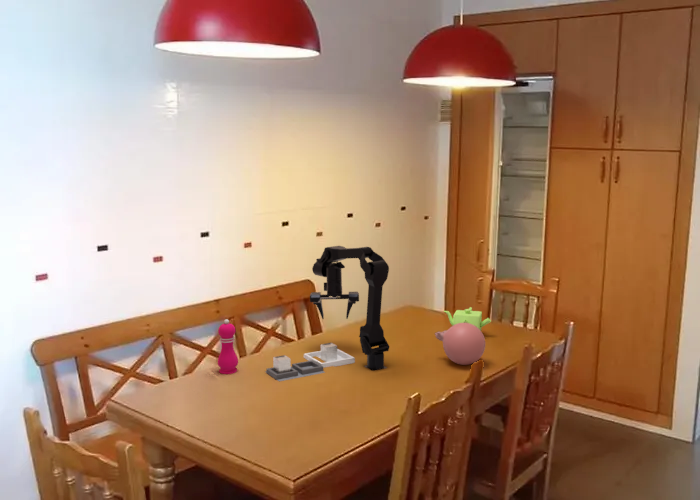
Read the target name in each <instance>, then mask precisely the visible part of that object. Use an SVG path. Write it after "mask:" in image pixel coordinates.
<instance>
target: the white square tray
mask: <svg viewBox="0 0 700 500" xmlns="http://www.w3.org/2000/svg"><path fill="white" fill-rule="evenodd" d="M314 357H317V358H319V359H321V350H319V351H312V352H306V353H303V359H305V360H306V361H311V360H313V361H315V362H316V363H318V364H320V365H322V366H323V369H324V368H330V367H340V366H345V365H351V364H355V363H356V358H355V357H354V356H352V355H350V354H349V353H346V352H345V351H343V350H341V349H339V348H337V360H336V361H330V362H325V361H324V362H321V361H319V360H318V359H316V358H314Z"/></svg>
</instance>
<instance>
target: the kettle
mask: <svg viewBox="0 0 700 500" xmlns="http://www.w3.org/2000/svg"><path fill="white" fill-rule="evenodd" d="M443 312H444V313H445V314H446V315H447V317H448V322H449V323H450V324H451V326H453V325H455V324H458V323H470V324H472V325H474V326H476V327H477V328H478V329H479V330H480V331H481V332H482V328H483V327H485V326H486V325H488V324H490V323H491V322H492V320H491V318H489V317H487V318H485V319H484V320H482V317H483V315H482V313H483V311H482V310H481V311H479V310H473V307H471V306H469V308H464V310H462V309H456V311H455V312H454V314H453V316H452V314H451V312H450V311H449V310H443Z"/></svg>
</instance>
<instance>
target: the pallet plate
mask: <svg viewBox="0 0 700 500" xmlns="http://www.w3.org/2000/svg"><path fill="white" fill-rule="evenodd" d="M264 372H265V374H267V375H268V376H270V377H272V378H273V379H274V380H275V381H278V382H283V381H288V380H294V379H298V378H304V377H309V376H314V375H315V376H316V375H320V374H325V373H326V372H325V371H324V368H323V366H322V365H320V364H318V363H316V362H315V361H313V360H311V361H308V360H306V361H302V362H301V361H300V362H296V363H295V362H294V363H291V372H286V373H281V374H277V373H275V372H274V368H273V367H268V368H266V371H265V370H264Z"/></svg>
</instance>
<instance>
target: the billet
mask: <svg viewBox="0 0 700 500" xmlns="http://www.w3.org/2000/svg"><path fill="white" fill-rule="evenodd" d="M272 360H273V361H272V362H273V363H272V364H273V365H272V366H273V367H272V368H274V372H275V373H277V374H281V373H286V372H291V367H292V363H291V360H292V359H291V358H290V357H289V356H287V355H278V356H273V357H272Z"/></svg>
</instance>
